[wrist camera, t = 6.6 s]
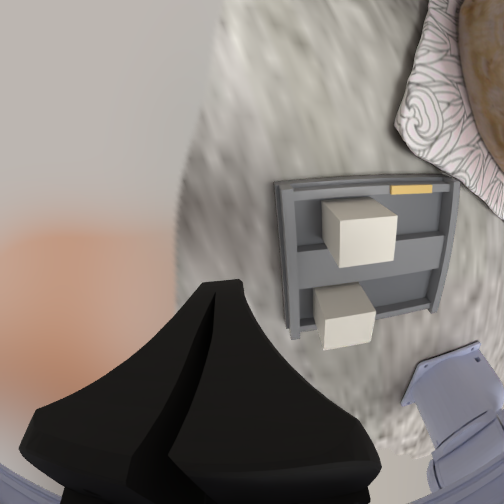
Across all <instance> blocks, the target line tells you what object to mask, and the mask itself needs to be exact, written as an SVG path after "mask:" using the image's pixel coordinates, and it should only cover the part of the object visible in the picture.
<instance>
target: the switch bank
mask: <svg viewBox="0 0 504 504" xmlns="http://www.w3.org/2000/svg"><path fill="white" fill-rule="evenodd" d="M274 191H275V201H276V212H277V223H278V235H279V247H280V259H281V272H282V286H283V300H284V315H285V324H286V329H288V328H289V330H290V336H291V340H294V339H300V332H304V331H311V330H317V327H316V323H315V320H314V317H313V288H314V287H322V286H329V285H336V284H344V283H351V282H359V284H360V285H361V287H362V288H363V290H364V292H365V293H366V295H367V297H368V298H369V300H370V302H371V303H372V305H373V307H374V308H375V310H376V315H375V320H377V319H382V318H387V317H392V316H397V315H401V314H406V313H410V312H415V311H419V310H423V309H428V310H429V312H430V313H435V312H437V310H438V307H439V303H440V299H441V296H442V292H443V288H444V284H445V280H446V276H447V271H448V267H449V262H450V257H451V252H452V246H453V241H454V234H455V228H456V221H457V213H458V204H459V194H460V181H457V180H455V179H452V177H449V176H446V175H444V174H393V175H362V176H343V177H326V178H313V179H300V180H289V181H278V182H274ZM357 197H371V198H373V199H374V200H376V201H377V202H379V203H380V204H382V205H383V206H384V207H386V208H387V209H389V210H390V211H392V212H393V213H394V214H396V215H397V216H398V218H397V231H396V242H395V252H394V260H393V261H388V262H381V263H373V264H366V265H359V266H351V267H343V268H339V267H338V265H337V263H336V262H335V260H334V258H333V256H332V255H331V253H330V251H329V250H328V248H327V246H326V245H325V243H324V241H323V240H322V204H321V200H330V199H343V198H357Z"/></svg>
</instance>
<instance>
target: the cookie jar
mask: <svg viewBox="0 0 504 504" xmlns="http://www.w3.org/2000/svg"><path fill="white" fill-rule="evenodd" d="M394 126H395V127H396V129H397V130H398V132H399V134H400V135H401V137H402V139H403V140H404V141H405V142H406V144H407V146H408V147H409V149H410V150H411V151H412V152H413V153H414V154H415V155H416V156H417V157H419V158H421V159H423V160H425V161H427V162H429V163H432V164H433V165H435V166H436V167H437V168H439V169H441V170H442V171H444V172H445V173H447V174H449V175H451V176H453V177H455V178H457V179H458V180H460V181H461V182H462V183H463V184H464V185H465V186H466V187H467V188H469V189H470V190H471V191H472V192H473V193H474V194H476V195H477V196H479V197H480V198H481V199H482V200H483V201H485V202H486V204H487V205H488V206H489V208H490V209H491V210H492V211H493V212H494V214H496V215H497V216H498V217H500V218H501V219H503V220H504V0H429V3H428V13H427V15H426V18H425V21H424V25H423V30H422V35H421V39H420V42H419V44H418V47H417V49H416V53H415V58H414V65H413V69H412V72H411V74H410V76H409V78H408V80H407V85H406V90H405V94H404V97H403V99H402V102H401V104H400V107H399V110H398V112H397V115H396V118H395V123H394Z"/></svg>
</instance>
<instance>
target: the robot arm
mask: <svg viewBox="0 0 504 504" xmlns="http://www.w3.org/2000/svg"><path fill="white" fill-rule="evenodd" d="M480 346H481V343H480V342H476V343H473V344H471V345H468V346H466V347H463V348H461V349H458V350H455V351H453V352H450V353H447V354H444V355H441V356H438V357H435V358H432V359H429V360H426V361H423V362H421V363H419V364H418V366H417V368H416V370H415V373H414V375H413V377H412V380H411V382H410V384H409V387H408V389H407V391H406V393H405V395H404V398H403V400H402V402H401V406H406V405H409V404H412V403H416V405H417V408H418V410H419V412H420V414H421V417H422V419H423V421H424V423H425V426H426V428H427V430H428V433H429V435H430V438H431V440H432V442H433V445H434V447H435V451H433V452H432V453H431V454H432V456H433V459H432V460H431V461H430V462H429V466H428V468H427V480H428V484H429V487H430V490H431V492H432V494H430V495H427V496H425V497H423V498H420V499H418V500H416V501H413V502H411V503H408V504H504V409H503V410H502V409H501V408H502V406H503V403H504V388H503V385H502V382H501V380H500V379H499V377H498V376H497V374H496V373H495V371H494V370H493V368H492V367H491V365H490V364H489V363H488V361H487V360H486V358H485V357H484V356H483V354H482V353H481V351H480V350H479V348H480ZM497 414H498V415H497ZM19 450H20V453H21V454H22V456H23V457H24V458H25V459H26V460H27V461H28V462H30V463H31V464H33V466H35V467H36V468H37V469H39V470H40V471H41V472H43V473H45V474H46V475H47V476H49V477H50V478H52V479H53V480H55V481H56V482H58V483H59V484H61V485H63V486H64V487H65V488H64V491H63V495H62V497H61V496H59V495H57V494H55V493H52V492H50V491H48V490H46V489H44V488H42V487H40V486H38V485H36V484H35V483H33V482H31V481H29V480H27V479H25V478H23V477H22V476H20V475H18V474H17V473H15V472H13V471H12V470H10V469H9V468H7V467H5V466H4V465H2V464H1V463H0V504H368V503H370V495H369V490H368V486H369V485H370V483H371V482H372V481H373V480H374V479H375V478H376V477H377V475H378V474H379V472H380V470H381V468H382V466H381V462H380V458H379V456H378V453H377V451H376V449H375V446H374V444H373V442H372V441H371V439H370V437H369V435H368V434H367V432H366V430H365V429H364V427H363V426H362V424H361V423H360V421H359V420H358V419H357V418H355V417H354V416H352V415H351V414H349V413H348V412H346V411H344V410H343V409H341V408H340V407H339V406H337V405H336V404H335V403H333V402H332V401H330V400H329V399H328V398H326V397H325V396H324V395H323V394H321V393H320V392H319V391H318V390H317V389H315V388H314V387H313V386H312V385H311V384H309V383H308V382H307V381H306V380H305V379H304V378H303V377H302V376H301V375H300V374H299V373H298V372H297V371H296V370H295V369H294V368H293V367H292V366H291V365H290V364H289V363H288V362H287V361H286V360H285V359H284V358H283V357H282V355H281V354H280V353H279V352H278V351H277V349H276V348H275V347H274V346H273V344H272V343H271V342H270V340H269V339H268V338H267V336H266V335H265V333H264V332H263V330H262V329H261V327H260V326H259V324H258V322H257V321H256V319H255V317H254V315H253V313H252V311H251V309H250V307H249V305H248V303H247V301H246V298H245V295H244V288H243V282H242V281H241V280H239V279H234V280H224V281H214V282H204V283H202V284H201V285H200V286H199V287H198V288H197V290H196V291H195V292H194V293H193V294H192V295H191V297H190V298H189V299H188V300H187V301H186V303H185V304H184V305H183V306H182V307H181V308H180V310H179V311H178V312H177V313H176V314H175V315H174V316H173V318H172V319H171V320H170V321H169V322H168V323H167V324H166V325H165V326H164V327H163V328H162V329H161V330H160V331H159V332H158V333H157V334H156V335H155V336H154V337H153V338H152V339H151V340H150V341H149V342H148V343H147V344H146V345H144V346H143V347H142V348H141V349H140V350H139V351H137V352H136V353H135V354H134V355H132V356H131V357H130V358H129V359H127V360H126V361H124V362H123V363H122V364H120V365H119V366H117V367H116V368H115V369H113V370H112V371H110V372H109V373H107V374H106V375H105V376H103V377H101V378H100V379H98V380H97V381H95V382H93V383H92V384H90V385H88V386H86V387H85V388H83V389H81V390H79V391H77V392H75V393H73V394H71V395H69V396H67V397H65V398H63V399H60V400H58V401H56V402H53V403H51V404H49V405H46V406H44V407H42V408H39V409H37V410H36V411H35V413H34V415H33V417H32V419H31V421H30V423H29V426H28V428H27V430H26V432H25V434H24V437H23V439H22V441H21V444H20V446H19Z"/></svg>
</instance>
